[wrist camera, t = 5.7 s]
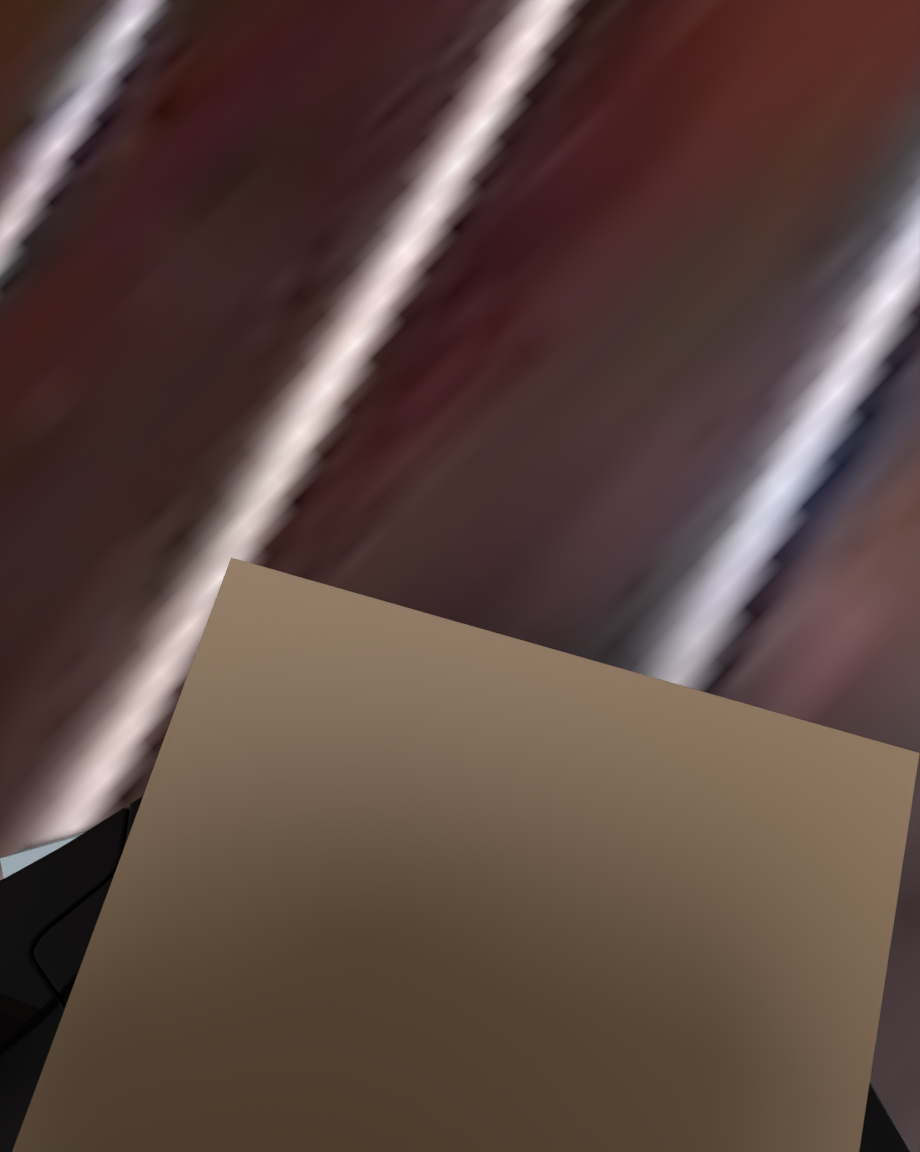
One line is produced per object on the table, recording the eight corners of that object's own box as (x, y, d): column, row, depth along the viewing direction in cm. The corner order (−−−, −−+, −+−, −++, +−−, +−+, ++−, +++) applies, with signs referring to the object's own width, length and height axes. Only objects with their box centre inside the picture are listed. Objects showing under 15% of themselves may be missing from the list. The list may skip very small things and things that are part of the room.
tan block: (561, 916, 15) (773, 1708, 3) (369, 851, 16) (-49, 1316, 4) (610, 714, 16) (919, 754, 4) (426, 660, 16) (231, 557, 5)
